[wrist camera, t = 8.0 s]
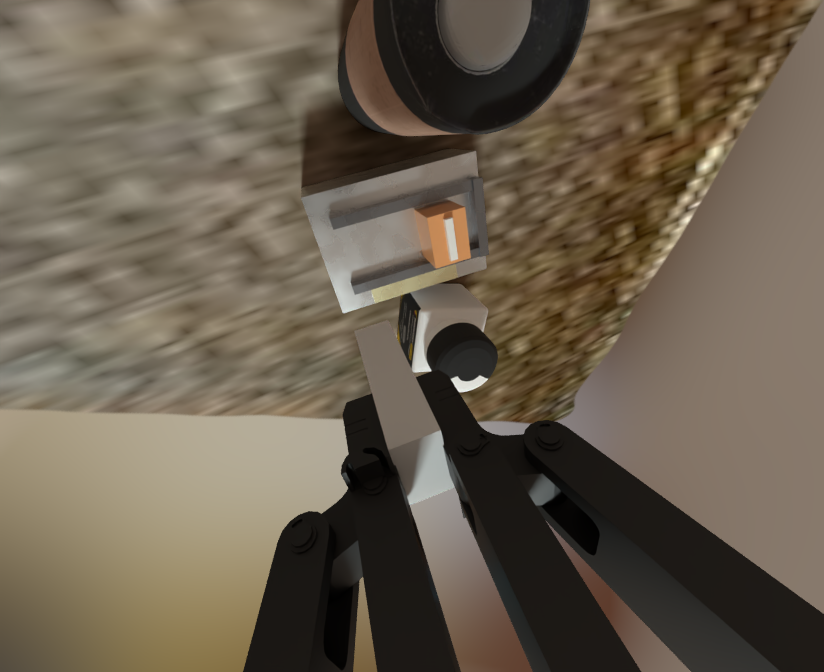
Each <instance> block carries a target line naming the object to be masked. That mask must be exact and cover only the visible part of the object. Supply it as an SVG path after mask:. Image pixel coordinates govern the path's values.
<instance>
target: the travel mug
mask: <svg viewBox="0 0 824 672" xmlns="http://www.w3.org/2000/svg"><path fill="white" fill-rule="evenodd" d="M589 5H590V0H359V1H358V3H357V6H356V8H355V10H354V12H353V15H352V17H351V20H350V23H349V27H348V30H347V34H346V37H345V41H344V44H343V48H342V51H341V55H340V59H339V65H338V82H339V89H340V92H341V96H342V99H343V101H344V103H345V105H346V107H347V109H348V110H349V112H350V113H351V115H352V116H353V117H354V118H355V119H356V120H357V121H358V122H359V123H360V124H362V125H363V126H365V127H367V128H368V129H370V130H373V131H376V132H381V133H387V134H394V135H401V136H425V135H449V134H488V133H492V132H497V131H500V130H503V129H506V128H508V127H511V126H513V125H515V124H517V123H519V122H521V121H522V120H524V119H526V118H527V117H529V116H530V115H531V114H533V113H534V112H535V111H536V110H537V109H539V108H540V107H541V106H542V105H543V104H544V103H545V102H546V101H547V99H548V98H549V97H550V96H551V95H552V93H553V92H554V91H555V90H556V88H557V87H558V86H559V84H560V83H561V81H562V79H563V78H564V76H565V75H566V73H567V71H568V69H569V67H570V65H571V63H572V61H573V59H574V57H575V55H576V52H577V50H578V47H579V45H580V42H581V39H582V35H583V32H584V29H585V25H586V21H587V16H588V11H589Z"/></svg>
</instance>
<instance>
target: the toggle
mask: <svg viewBox="0 0 824 672" xmlns="http://www.w3.org/2000/svg"><path fill="white" fill-rule="evenodd" d="M414 212H415V217H416V222H417V228H418V233H419V238H420V243H421V248H422V253H423V256H424V257H425V258H426V259H427V260H428V261H429V262H430V263H431V264H432V265H433V266H434V267H435V268H436V269H437V268H440V267H443V266H446V265H450V264H453V263H456V262H459V261H463V260H466V259H469V258H471V254H470V246H469V237H468V228H467V220H466V211H465V207H464V206H462V205H459V204H457V203H455V202H452V201H450V200H445V201H442V202H438V203H435V204H431V205H428V206H424V207H421V208H417V209H414Z"/></svg>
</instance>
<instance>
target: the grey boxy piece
mask: <svg viewBox="0 0 824 672" xmlns="http://www.w3.org/2000/svg"><path fill="white" fill-rule="evenodd" d="M301 199H302V202H303V204H304V207H305V210H306V213H307V215H308V218H309V221H310V224H311V226H312V229H313V232H314V235H315V237H316V240H317V243H318V246H319V248H320V251H321V254H322V257H323V259H324V262H325V265H326V268H327V270H328V273H329V276H330V279H331V281H332V284H333V287H334V290H335V292H336V295H337V298H338V301H339V303H340V306H341V309H342V312H343V313H346V312H349V311H352V310H355V309H359V308H362V307H365V306H368V305H371V304H375V303H378V302H381V301H384V300H387V299H391V298H394V297H397V296H400V295H403V294H407V293H410V292H413V291H416V290H419V289H423V288H426V287H429V286H432V285H435V284H438V283H442V282H445V281H448V280H451V279H454V278H458V277H461V276H464V275H467V274H470V273H474V272H477V271H480V270H483V269H486V268H487V267H486V255H489V250H488V238H487V226H486V215H485V203H484V191H483V179H482V177H478V168H477V156H476V151H472V150H460V149H445V150H442V151H438V152H434V153H430V154H426V155H423V156H419V157H415V158H411V159H407V160H404V161H400V162H396V163H392V164H389V165H385V166H381V167H377V168H373V169H370V170H366V171H362V172H358V173H355V174H351V175H347V176H343V177H339V178H336V179H332V180H328V181H324V182H320V183H317V184H313V185H309V186H305V187H302V188H301ZM445 200H450V201H452V202H455V203H457V204H459V205H462V206H464V207H465V211H466V220H467V228H468V237H469V246H470V254H471V258H469V259H466V260H463V261H459V262H456V263H453V264H450V265H446V266H443V267H440V268H437V269H436V268H435V267H434V266H433V265H432V264H431V263H430V262H429V261H428V260H427V259H426V258H425V257H424V256H423V253H422V248H421V243H420V238H419V233H418V228H417V222H416V217H415V212H414V209H417V208H421V207H424V206H428V205H431V204H435V203H438V202H442V201H445Z"/></svg>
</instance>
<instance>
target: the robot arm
mask: <svg viewBox="0 0 824 672" xmlns="http://www.w3.org/2000/svg"><path fill="white" fill-rule="evenodd" d="M355 335H356V338H357V342H358V345H359V349H360V352H361V356H362V359H363V363H364V367H365V370H366V374H367V377H368V381H369V384H370V388H371V391H372V394H370V395H367V396H364V397H361V398H358V399H355V400H352V401H350V402H347V403H346V406H345V409H344V412H343V420H344V426H345V433H346V439H347V445H348V452H349V455H348V456H347V457H346V458H345V460H344V462H343V464H342V469H341V475H342V477H343V479H344V480H345V482H346V484H347V486H348V490H347V492H346V493H345V494H344V496H343V497H342V498H341V499H340V500H339V501H338V502H337V503H336V504H334V505H333V506H332V507H330V508H329V509H328V510H326V511H325V512H323V513H322V514H320V513H319V512H312V511H311V512H310V511H308V512H306V513H303V514H300V515H298V516H297V517H295V518H294V519H293V520H291V521H290V522H289V523H288V525H287V526H286V527H285V528H284V530H283V531H282V533H281V536H280V538H279V540H278V543H277V547H276V550H275V554H274V558H273V562H272V565H271V569H270V573H269V577H268V580H267V584H266V588H265V592H264V595H263V599H262V603H261V607H260V610H259V614H258V618H257V622H256V625H255V630H254V633H253V637H252V640H251V644H250V648H249V652H248V656H247V659H246V663H245V667H244V671H243V672H353V664H354V650H355V636H356V635H355V634H356V621H357V608H358V593H359V580H360V579H361V578H362V577H363V578H364V585H365V592H366V598H367V605H368V612H369V619H370V625H371V632H372V639H373V645H374V652H375V659H376V665H377V672H461V671H460V667H459V664H458V661H457V658H456V654H455V651H454V648H453V645H452V641H451V638H450V634H449V631H448V628H447V624H446V621H445V618H444V615H443V611H442V608H441V605H440V601H439V598H438V595H437V592H436V588H435V585H434V582H433V579H432V575H431V572H430V569H429V565H428V562H427V559H426V555H425V552H424V549H423V546H422V542H421V539H420V536H419V533H418V529H417V526H416V523H415V520H414V517H413V515H412V512H411V508H410V505H412V504H415V503H417V502H419V501H422V500H424V499H427V498H429V497H432V496H434V495H437V494H439V493H442V492H444V491H447V490H449V489H452V488H454V486H455V488H456V491H457V493H458V495H459V500H460V504H461V509H462V513H463V517H464V518H467V520H468V523H469V525H470V527H471V530H472V532H473V534H474V537H475V539H476V541H477V544H478V546H479V548H480V551H481V553H482V555H483V558H484V560H485V562H486V564H487V567H488V569H489V571H490V573H491V576H492V578H493V581H494V583H495V585H496V587H497V590H498V592H499V595H500V597H501V599H502V601H503V604H504V606H505V608H506V611H507V613H508V615H509V618H510V620H511V622H512V625H513V627H514V629H515V631H516V633H517V636H518V638H519V641H520V643H521V645H522V648H523V650H524V652H525V654H526V657H527V659H528V661H529V664H530V666H531V668H532V671H533V672H641V671H640V669H639V668H638V666H637V664H636V663H635V661H634V660H633V658H632V656H631V655H630V653H629V652H628V650H627V649H626V647H625V645H624V644H623V642H622V641H621V639H620V637H619V636H618V634H617V633H616V631H615V630H614V628H613V626H612V625H611V623H610V622H609V620H608V619H607V617H606V615H605V614H604V612H603V611H602V609H601V607H600V606H599V604H598V603H597V601H596V600H595V598H594V596H593V595H592V593H591V592H590V590H589V589H588V587H587V585H586V584H585V582H584V581H583V579H582V577H581V576H580V574H579V573H578V571H577V570H576V568H575V567H574V565H573V563H572V562H571V560H570V559H569V557H568V556H567V554H566V552H565V551H564V549H563V547H562V546H561V544H560V543H559V541H558V540H557V538H556V536H555V535H554V533H553V532H552V530H551V529H550V527H549V525H548V524H547V522H548V523H549V524H550V525H551V526H552V527H553V528H554V530H555V531H556V532H557V533H558V534H559V535H560V536H561V537H562V538H563V539H564V540H565V541H566V542H567V543H568V544H569V545H570V546H571V547H572V548H573V549H574V550H575V551H576V552H577V553H578V554H579V555H580V557H581V558H582V559H583V560H584V561H585V562H586V563H587V564H588V565H589V566H590V567H591V568H592V569H593V570H594V571H595V572H596V573H597V574H598V575H599V576H600V577H601V578H602V579H603V580H604V582H605V583H606V584H607V585H608V586H609V587H610V588H611V589H612V590H613V591H614V592H615V593H616V594H617V595H618V596H619V597H620V598H621V599H622V600H623V601H624V602H625V603H626V604H627V605H628V606H629V607H630V608H631V610H632V611H633V612H634V613H635V614H636V615H637V616H638V617H639V618H640V619H641V620H642V621H643V622H644V623H645V624H646V625H647V626H648V627H649V628H650V629H651V630H652V631H653V632H654V633H655V634H656V635H657V637H659V638H660V640H661V641H662V642H663V643H664V644H665V645H666V646H667V647H668V648H669V649H670V650H671V651H672V652H673V653H674V654H675V655H676V656H677V657H678V658H679V659H680V660H681V661H682V662H683V664H685V665H686V667H687V668H688V669H689V670H690V671H691V672H824V614H822V613H821V612H820V611H819V610H817V609H816V608H815V607H813V606H812V605H810V604H809V603H808V602H806V601H805V600H803V599H802V598H801V597H799V596H798V595H797V594H795V593H794V592H792V591H791V590H790V589H788V588H787V587H786V586H784V585H783V584H782V583H780V582H779V581H777V580H776V579H775V578H773V577H772V576H771V575H769V574H768V573H766V572H765V571H764V570H762V569H761V568H760V567H758V566H757V565H756V564H754V563H753V562H751V561H750V560H749V559H747V558H746V557H745V556H743V555H742V554H740V553H739V552H738V551H736V550H735V549H733V548H732V547H731V546H729V545H728V544H727V543H725V542H724V541H723V540H721V539H719V538H718V537H717V536H716V535H714V534H713V533H711V532H710V531H709V530H707V529H706V528H705V527H703V526H702V525H700V524H699V523H698V522H696V521H695V520H694V519H692V518H691V517H690V516H688V515H687V514H685V513H684V512H683V511H681V510H680V509H679V508H677V507H676V506H674V505H673V504H672V503H670V502H669V501H668V500H666V499H665V498H663V497H662V496H661V495H659V494H658V493H657V492H655V491H654V490H652V489H651V488H649V487H648V486H647V485H646V484H644V483H643V482H641V481H640V480H639V479H637V478H636V477H635V476H633V475H632V474H630V473H629V472H628V471H626V470H625V469H624V468H622V467H621V466H619V465H618V464H617V463H615V462H614V461H613V460H611V459H610V458H608V457H607V456H606V455H604V454H603V453H601V452H600V451H599V450H597V449H596V448H595V447H593V446H592V445H591V444H589V443H588V442H587V441H585V440H584V439H582V438H581V437H579V436H578V435H577V434H576V433H574V432H573V431H571V430H570V429H569V428H567V427H566V426H563V425H562V424H560V423H558V422H554V421H549V420H544V421H537V422H535V423H533V424H530V425H529V427H528V428H527V429H526V430H525V433H524V434H523V435H509V436H500V435H495V434H492V433H489V432H487V431H485V430H484V429H483V428H482V427H481V426H480V425H479V424H478V423H477V421H476V419H475V418H474V416H473V414H472V413H471V411H470V410H469V408H468V406H467V405H466V403H465V402H464V400H463V398H462V397H461V395H460V394H459V392H458V390H457V389H456V387H455V386H454V384H453V382H452V381H451V379H450V377H449V376H448V375H447V374H445V373H443V372H442V371H440V370H435V371H432V372H429V373H427V374H424V375H421V376H418V377H415V375H414V373H413V371H412V369H411V367H410V365H409V363H408V361H407V359H406V356H405V354H404V352H403V350H402V348H401V346H400V344H399V342H398V340H397V338H396V336H395V333H394V331H393V329H392V327H391V325H390V323H389V321H388V320H386V321H383V322H380V323H377V324H374V325H371V326H368V327H365V328H362V329H359V330H356V331H355ZM453 484H454V485H453ZM545 520H546V521H547V522H546V521H545Z"/></svg>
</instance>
